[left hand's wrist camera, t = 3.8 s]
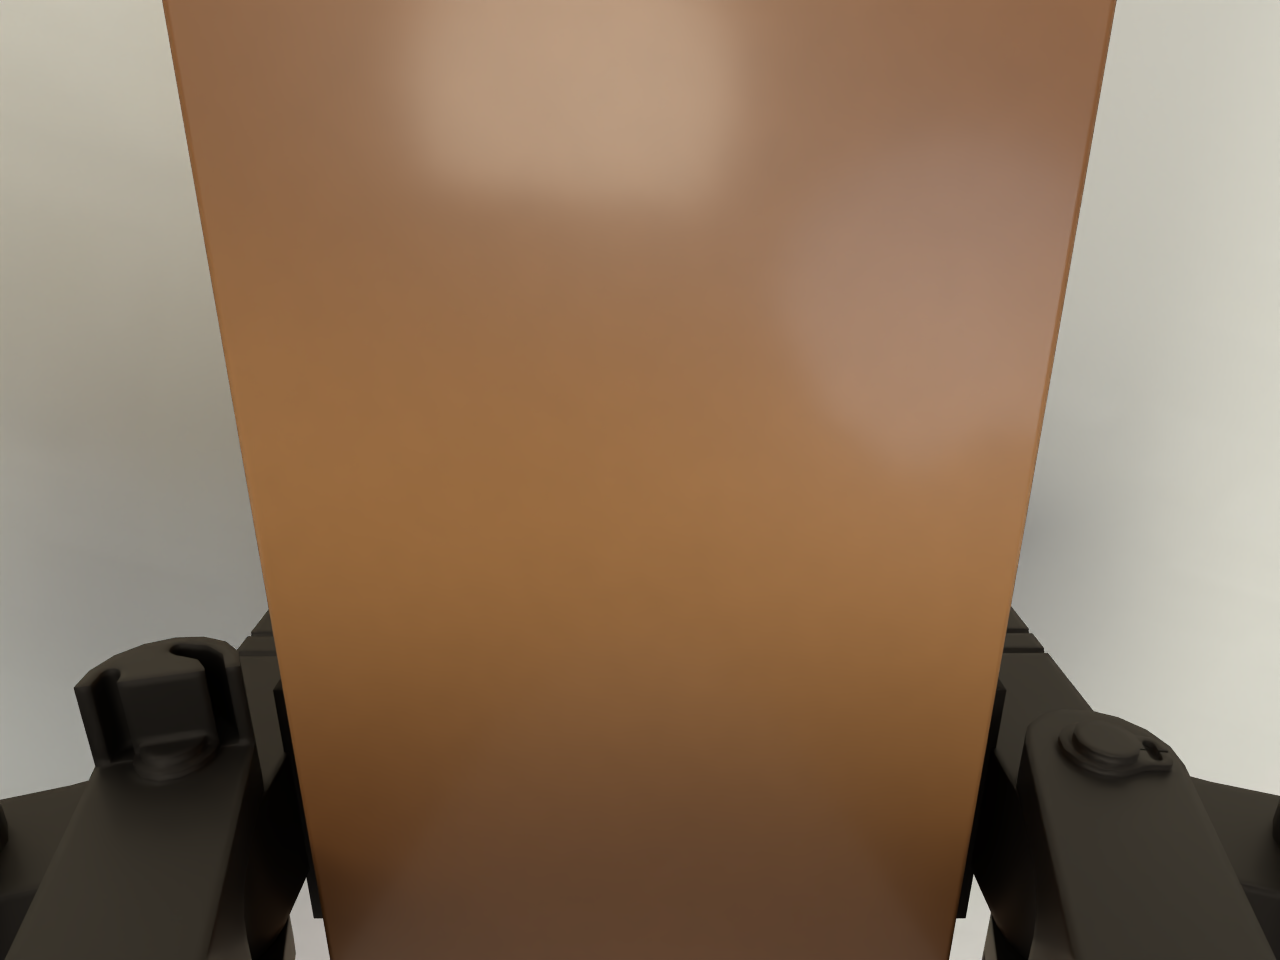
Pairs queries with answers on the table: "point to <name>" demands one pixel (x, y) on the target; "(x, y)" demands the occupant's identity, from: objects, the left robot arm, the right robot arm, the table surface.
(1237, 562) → the table surface
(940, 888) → the bar
